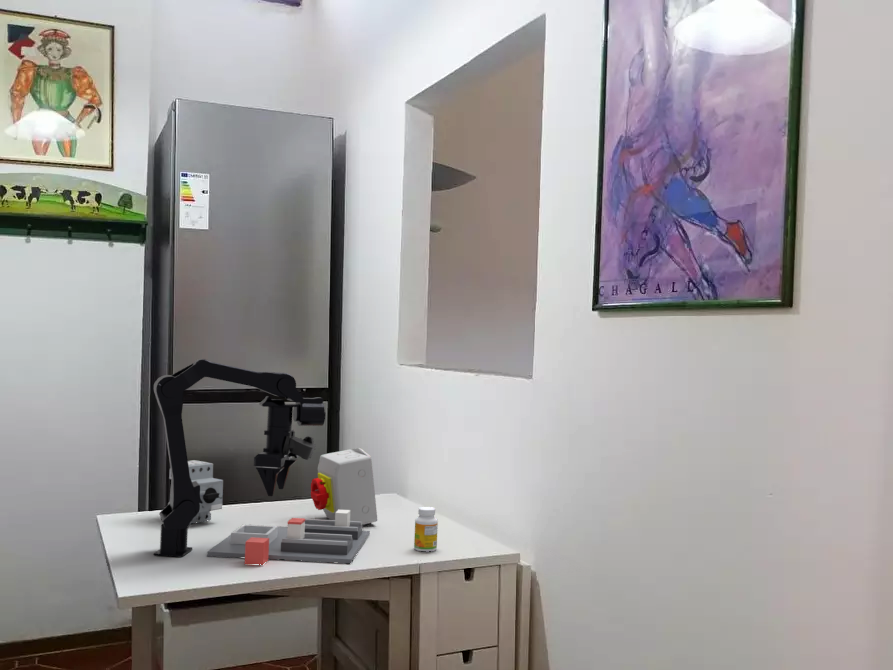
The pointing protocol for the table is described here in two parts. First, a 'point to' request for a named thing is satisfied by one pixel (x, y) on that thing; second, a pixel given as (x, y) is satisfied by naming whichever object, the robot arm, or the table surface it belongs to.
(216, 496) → the circuit breaker
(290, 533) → the toggle
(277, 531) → the panel
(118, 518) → the table surface
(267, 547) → the coral foam cube
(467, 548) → the table surface
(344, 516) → the toggle
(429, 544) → the supplement bottle
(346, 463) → the electrical switch box
